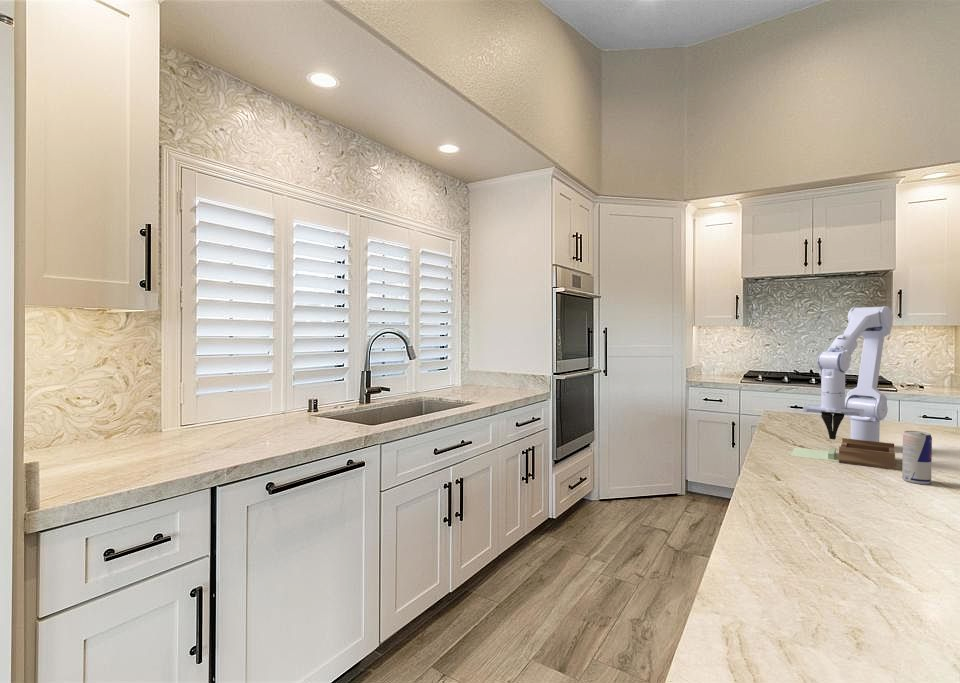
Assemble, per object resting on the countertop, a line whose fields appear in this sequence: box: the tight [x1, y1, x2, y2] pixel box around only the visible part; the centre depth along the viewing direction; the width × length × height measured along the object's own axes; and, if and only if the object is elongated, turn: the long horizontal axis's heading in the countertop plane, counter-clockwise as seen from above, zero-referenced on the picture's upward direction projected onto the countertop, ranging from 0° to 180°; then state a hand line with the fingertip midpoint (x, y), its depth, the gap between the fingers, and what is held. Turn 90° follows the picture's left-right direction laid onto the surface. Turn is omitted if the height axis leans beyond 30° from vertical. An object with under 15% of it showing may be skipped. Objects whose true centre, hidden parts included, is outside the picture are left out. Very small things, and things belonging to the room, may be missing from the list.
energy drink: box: [901, 430, 933, 485], centre depth 122 cm, size 5×5×12 cm
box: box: [838, 437, 896, 471], centre depth 141 cm, size 14×12×4 cm
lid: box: [789, 446, 839, 463], centre depth 148 cm, size 12×12×2 cm
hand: (832, 438), depth 146 cm, fingers closed
